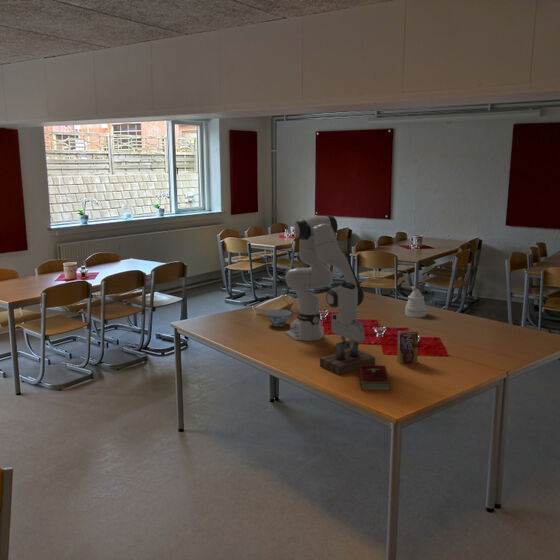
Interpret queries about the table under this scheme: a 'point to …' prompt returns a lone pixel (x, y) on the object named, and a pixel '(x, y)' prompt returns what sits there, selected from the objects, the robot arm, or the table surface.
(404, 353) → the candy box
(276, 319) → the chinaware
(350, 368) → the wooden board with holes
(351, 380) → the table surface
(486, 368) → the table surface
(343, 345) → the grey u-shaped block
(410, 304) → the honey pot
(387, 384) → the hardcover book
